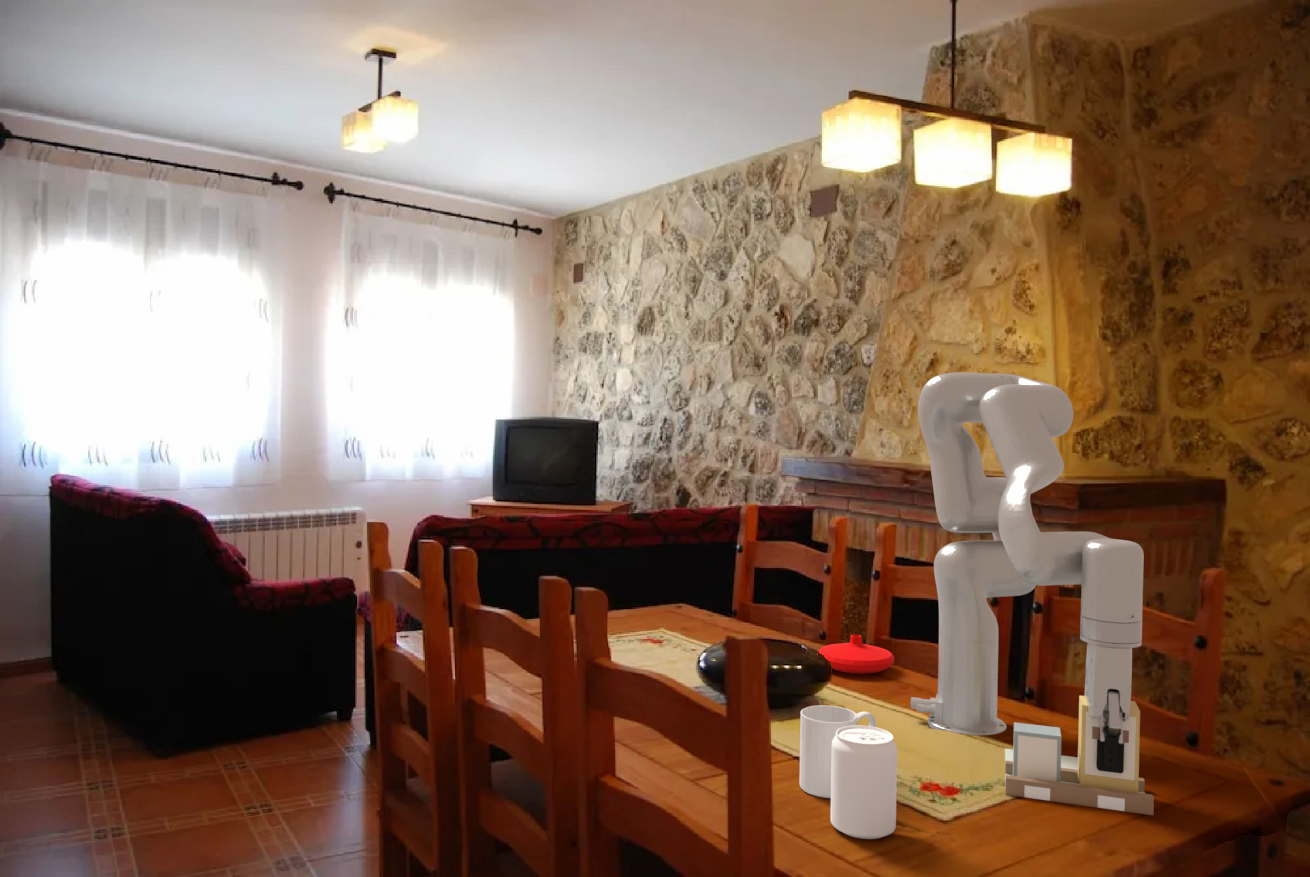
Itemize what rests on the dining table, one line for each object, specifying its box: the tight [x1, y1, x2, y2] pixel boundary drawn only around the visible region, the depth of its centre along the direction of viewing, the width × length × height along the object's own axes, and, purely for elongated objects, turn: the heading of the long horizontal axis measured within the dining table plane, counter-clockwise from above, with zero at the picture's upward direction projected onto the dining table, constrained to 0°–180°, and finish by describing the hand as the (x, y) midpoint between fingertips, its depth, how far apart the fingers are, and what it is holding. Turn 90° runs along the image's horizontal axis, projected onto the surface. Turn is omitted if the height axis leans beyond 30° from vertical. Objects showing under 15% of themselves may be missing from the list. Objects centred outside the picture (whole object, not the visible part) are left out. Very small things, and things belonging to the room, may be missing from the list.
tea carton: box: [1077, 695, 1141, 793], centre depth 128 cm, size 7×5×11 cm
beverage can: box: [830, 724, 898, 840], centre depth 119 cm, size 8×8×12 cm
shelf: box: [1004, 748, 1155, 816], centre depth 134 cm, size 18×19×3 cm
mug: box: [798, 704, 877, 799], centre depth 133 cm, size 12×8×10 cm, turn 118°
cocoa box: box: [1012, 721, 1062, 782], centre depth 131 cm, size 6×4×8 cm
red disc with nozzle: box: [818, 634, 895, 675], centre depth 196 cm, size 16×16×7 cm
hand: (1107, 762), depth 128 cm, fingers closed on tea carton, 5 cm apart
